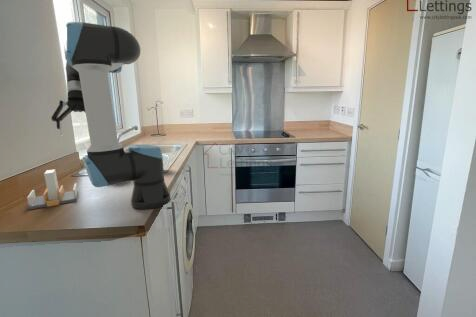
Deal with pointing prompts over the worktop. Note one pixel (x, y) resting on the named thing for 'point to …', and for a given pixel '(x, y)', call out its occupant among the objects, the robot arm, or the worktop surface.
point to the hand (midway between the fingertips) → (79, 135)
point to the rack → (45, 202)
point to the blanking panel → (52, 184)
